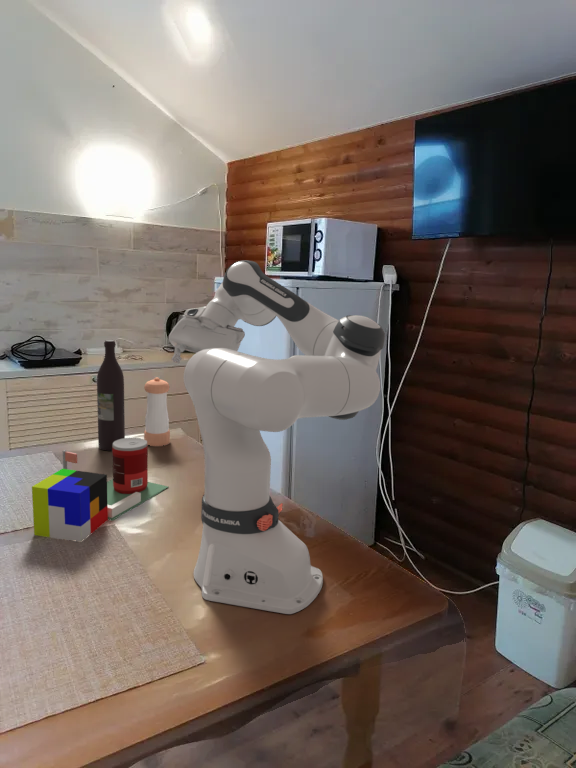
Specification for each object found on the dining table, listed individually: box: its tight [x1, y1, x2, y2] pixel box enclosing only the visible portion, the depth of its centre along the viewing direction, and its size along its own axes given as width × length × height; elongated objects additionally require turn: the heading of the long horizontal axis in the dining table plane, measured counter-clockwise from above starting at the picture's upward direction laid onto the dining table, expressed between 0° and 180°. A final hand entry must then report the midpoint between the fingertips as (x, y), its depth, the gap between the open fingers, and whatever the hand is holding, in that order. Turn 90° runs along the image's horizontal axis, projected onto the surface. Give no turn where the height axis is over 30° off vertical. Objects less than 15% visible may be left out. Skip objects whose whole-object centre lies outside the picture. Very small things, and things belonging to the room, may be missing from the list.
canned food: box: [111, 437, 149, 494], centre depth 137 cm, size 8×8×11 cm
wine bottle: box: [96, 339, 126, 452], centre depth 162 cm, size 7×7×30 cm
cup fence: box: [62, 449, 141, 518], centre depth 128 cm, size 13×9×12 cm
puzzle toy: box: [31, 468, 109, 542], centre depth 117 cm, size 10×10×10 cm
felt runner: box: [107, 478, 169, 521], centre depth 133 cm, size 14×20×1 cm
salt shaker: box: [143, 376, 171, 447], centre depth 169 cm, size 7×7×19 cm
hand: (188, 365), depth 148 cm, fingers open, 8 cm apart
